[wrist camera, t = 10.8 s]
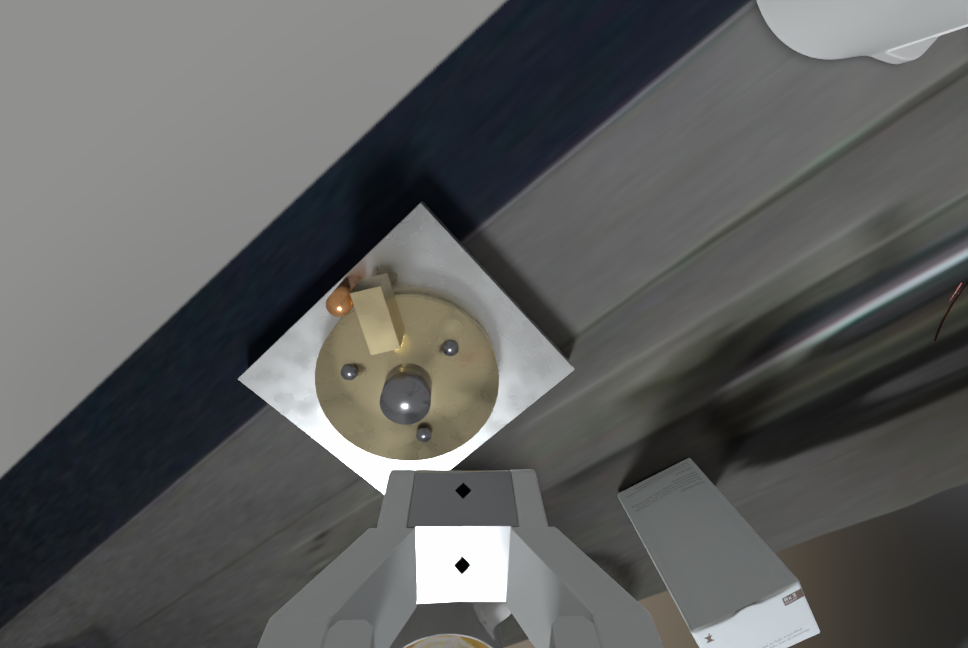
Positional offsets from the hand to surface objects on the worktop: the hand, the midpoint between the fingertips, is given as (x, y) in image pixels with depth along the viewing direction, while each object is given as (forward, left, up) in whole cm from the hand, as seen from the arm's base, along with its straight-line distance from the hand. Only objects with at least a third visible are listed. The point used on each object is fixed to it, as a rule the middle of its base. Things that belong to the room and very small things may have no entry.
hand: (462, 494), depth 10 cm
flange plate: (+9, +4, -26) cm, 27 cm away
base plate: (+9, +5, -28) cm, 30 cm away
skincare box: (+1, +32, -28) cm, 43 cm away
